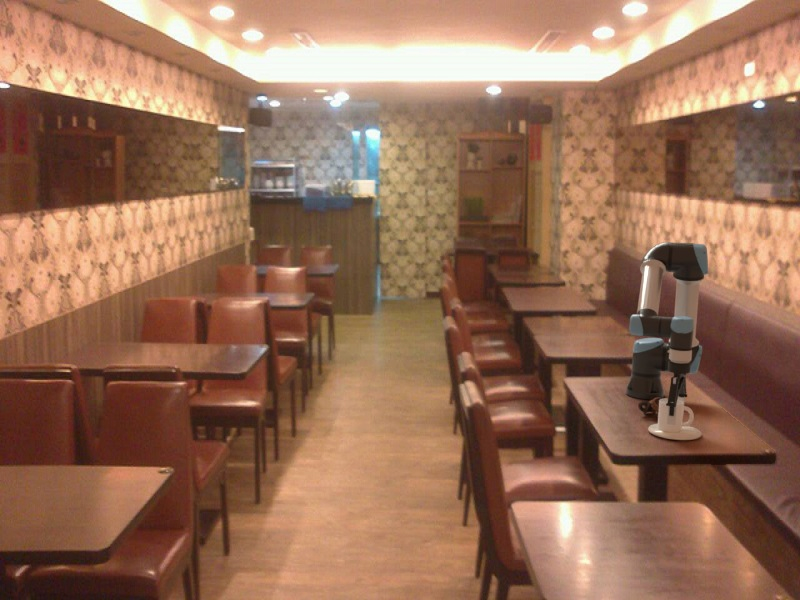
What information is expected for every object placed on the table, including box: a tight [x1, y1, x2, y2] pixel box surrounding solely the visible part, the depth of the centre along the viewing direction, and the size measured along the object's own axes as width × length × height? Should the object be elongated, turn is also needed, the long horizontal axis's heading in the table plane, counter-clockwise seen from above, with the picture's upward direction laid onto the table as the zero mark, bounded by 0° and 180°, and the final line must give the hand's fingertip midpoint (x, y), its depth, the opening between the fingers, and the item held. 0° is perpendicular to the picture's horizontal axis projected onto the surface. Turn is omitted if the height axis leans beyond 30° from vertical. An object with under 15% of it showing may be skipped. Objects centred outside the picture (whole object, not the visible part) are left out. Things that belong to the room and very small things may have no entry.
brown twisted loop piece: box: [637, 397, 664, 420], centre depth 348 cm, size 12×10×8 cm
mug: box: [657, 397, 695, 433], centre depth 328 cm, size 12×8×10 cm
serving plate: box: [648, 423, 702, 441], centre depth 328 cm, size 18×18×1 cm
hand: (675, 419), depth 327 cm, fingers open, 13 cm apart
